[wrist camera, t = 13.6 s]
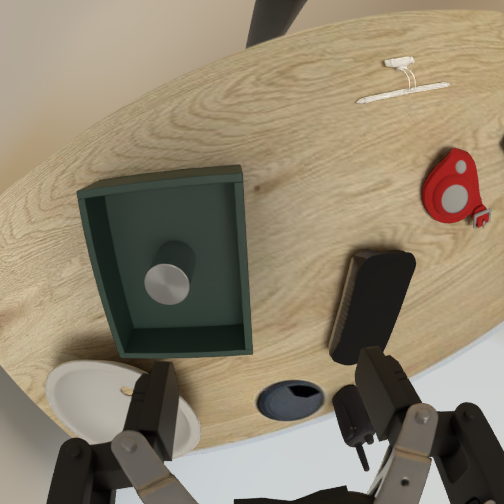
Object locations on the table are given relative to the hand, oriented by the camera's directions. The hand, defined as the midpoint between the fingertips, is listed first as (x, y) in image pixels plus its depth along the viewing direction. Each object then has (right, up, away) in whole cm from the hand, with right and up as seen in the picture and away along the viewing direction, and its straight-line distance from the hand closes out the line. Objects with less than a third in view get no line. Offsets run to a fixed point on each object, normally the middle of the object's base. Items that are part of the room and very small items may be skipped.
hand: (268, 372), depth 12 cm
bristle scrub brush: (+14, -1, +27) cm, 30 cm away
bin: (-9, +4, +23) cm, 25 cm away
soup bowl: (-20, -17, +31) cm, 40 cm away
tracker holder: (+25, +12, +22) cm, 36 cm away
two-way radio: (+14, -18, +34) cm, 41 cm away
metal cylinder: (-9, +4, +22) cm, 24 cm away
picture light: (+16, +25, +16) cm, 34 cm away
